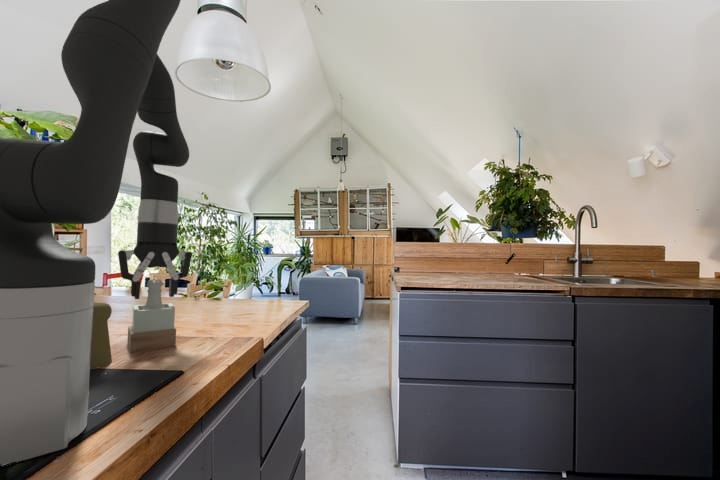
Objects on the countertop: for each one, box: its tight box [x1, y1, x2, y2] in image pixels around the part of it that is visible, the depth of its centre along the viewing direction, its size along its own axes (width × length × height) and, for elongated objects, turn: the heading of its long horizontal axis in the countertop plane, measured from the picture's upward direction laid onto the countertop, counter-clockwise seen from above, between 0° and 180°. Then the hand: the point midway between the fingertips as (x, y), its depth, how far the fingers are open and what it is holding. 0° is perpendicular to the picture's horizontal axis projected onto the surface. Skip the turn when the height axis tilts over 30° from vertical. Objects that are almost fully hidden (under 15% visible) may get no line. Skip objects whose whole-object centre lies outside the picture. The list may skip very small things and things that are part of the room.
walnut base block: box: [126, 325, 177, 354], centre depth 68 cm, size 8×8×4 cm
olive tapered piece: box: [90, 302, 113, 371], centre depth 56 cm, size 6×6×11 cm
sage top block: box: [131, 302, 176, 333], centre depth 68 cm, size 7×7×4 cm
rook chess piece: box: [142, 278, 165, 310], centre depth 68 cm, size 4×4×8 cm
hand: (154, 297), depth 69 cm, fingers open, 6 cm apart
